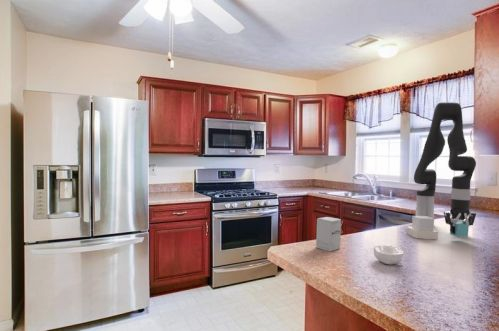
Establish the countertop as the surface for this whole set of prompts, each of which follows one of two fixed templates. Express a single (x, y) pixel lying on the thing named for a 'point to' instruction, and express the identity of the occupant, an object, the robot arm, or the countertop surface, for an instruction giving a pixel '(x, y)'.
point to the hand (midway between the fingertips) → (458, 233)
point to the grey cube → (423, 223)
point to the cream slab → (422, 233)
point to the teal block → (461, 230)
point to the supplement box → (328, 233)
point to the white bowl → (388, 254)
